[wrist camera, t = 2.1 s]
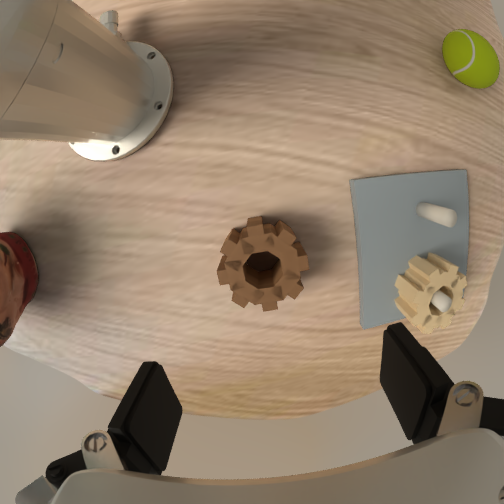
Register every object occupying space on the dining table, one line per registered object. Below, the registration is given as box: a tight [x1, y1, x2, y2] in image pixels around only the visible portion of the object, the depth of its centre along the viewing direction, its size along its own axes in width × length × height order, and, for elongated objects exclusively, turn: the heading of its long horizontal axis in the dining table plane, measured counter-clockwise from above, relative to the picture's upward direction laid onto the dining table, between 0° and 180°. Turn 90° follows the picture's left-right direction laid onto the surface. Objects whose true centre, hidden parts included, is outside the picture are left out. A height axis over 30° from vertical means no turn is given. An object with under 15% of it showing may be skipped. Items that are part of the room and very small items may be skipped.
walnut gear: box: [217, 216, 309, 312], centre depth 23 cm, size 7×7×4 cm
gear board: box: [349, 169, 469, 334], centre depth 22 cm, size 15×14×6 cm
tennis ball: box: [442, 29, 500, 89], centre depth 15 cm, size 7×7×7 cm
